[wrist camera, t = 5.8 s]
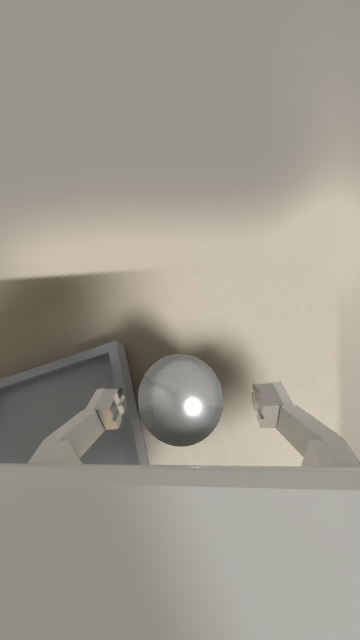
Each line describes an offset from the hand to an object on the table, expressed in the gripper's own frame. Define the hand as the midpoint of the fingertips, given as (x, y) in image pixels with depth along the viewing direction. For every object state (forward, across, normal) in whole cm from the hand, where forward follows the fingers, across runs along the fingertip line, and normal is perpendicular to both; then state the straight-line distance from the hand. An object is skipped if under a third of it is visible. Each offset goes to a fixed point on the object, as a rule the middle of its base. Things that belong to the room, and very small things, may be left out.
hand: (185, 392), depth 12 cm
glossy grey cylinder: (+3, 0, +4) cm, 5 cm away
